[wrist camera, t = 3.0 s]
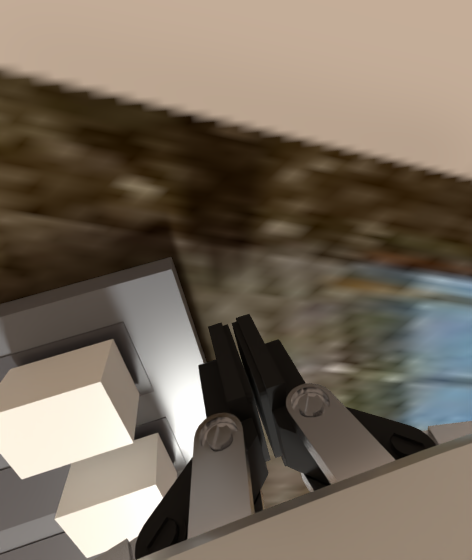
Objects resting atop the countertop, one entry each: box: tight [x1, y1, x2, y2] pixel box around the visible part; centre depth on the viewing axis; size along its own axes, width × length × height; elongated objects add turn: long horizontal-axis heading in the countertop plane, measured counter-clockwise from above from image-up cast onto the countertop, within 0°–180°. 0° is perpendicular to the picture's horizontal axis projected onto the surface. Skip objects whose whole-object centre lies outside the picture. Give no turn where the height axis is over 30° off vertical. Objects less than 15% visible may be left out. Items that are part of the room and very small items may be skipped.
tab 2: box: [55, 433, 177, 558], centre depth 14 cm, size 4×3×2 cm
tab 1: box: [0, 339, 139, 479], centre depth 12 cm, size 4×3×2 cm
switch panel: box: [0, 257, 207, 560], centre depth 16 cm, size 20×18×2 cm
